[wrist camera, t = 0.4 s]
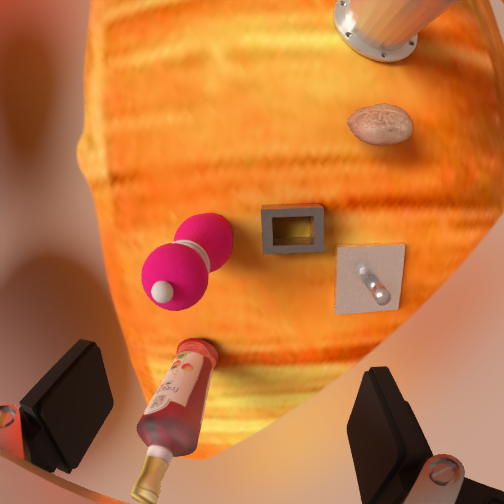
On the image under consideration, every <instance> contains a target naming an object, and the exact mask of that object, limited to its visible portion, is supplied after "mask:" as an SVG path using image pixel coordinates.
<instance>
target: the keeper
mask: <svg viewBox="0 0 504 504" xmlns="http://www.w3.org/2000/svg"><path fill="white" fill-rule="evenodd" d="M404 255H405V244H403V243H375V244H346V245H336V262H335V291H334V313H335V314H349V313H363V312H375V311H387V310H398V307H399V300H400V293H401V284H402V276H403V266H404Z"/></svg>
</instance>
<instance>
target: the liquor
mask: <svg viewBox="0 0 504 504" xmlns="http://www.w3.org/2000/svg"><path fill="white" fill-rule="evenodd" d="M218 362H219V355H218V352H217V351H216V349H215V348H214V347H213V346H212V345H211V344H210V343H208V342H207V341H205V340H202V339H198V338H190V339H186V340H184V341H182V342H181V343H180V344H179V346H178V348H177V356H176V358H175V360H174V361H173V363H172V365H171V367H170V369H169V371H168V372H167V374H166V376H165V378H164V379H163V381H162V383H161V384H160V386H159V388H158V389H157V391H156V393H155V394H154V396H153V398H152V399H151V401H150V403H149V405H148V406H147V408H146V410H145V412H144V414H143V416H142V417H141V419H140V421H139V423H138V424H137V432H138V435H139V436H140V437H141V439H142V440H143V441H144V443H145V444H146V445H147V446H148V447H149V448H148V452H147V455H146V459H145V462H144V466H143V470H142V473H141V475H140V476H139V478H138V479H137V481H136V482H135V485H134V487H133V489H132V492H131V496H132V498H134V499H135V500H137V501H138V502H141V503H143V504H156V503H157V500H158V497H159V494H160V488H161V480H162V478H163V476H164V474H165V472H166V470H167V468H168V466H169V464H170V462H171V460H172V458H173V457H178V456H185V455H189V454H191V453H193V452H194V451H195V450H196V448H197V443H198V438H199V433H200V429H201V425H202V420H203V415H204V410H205V404H206V399H207V394H208V390H209V386H210V381H211V377H212V373H213V369H214V368H215V367H216V366H217V365H218Z"/></svg>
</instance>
